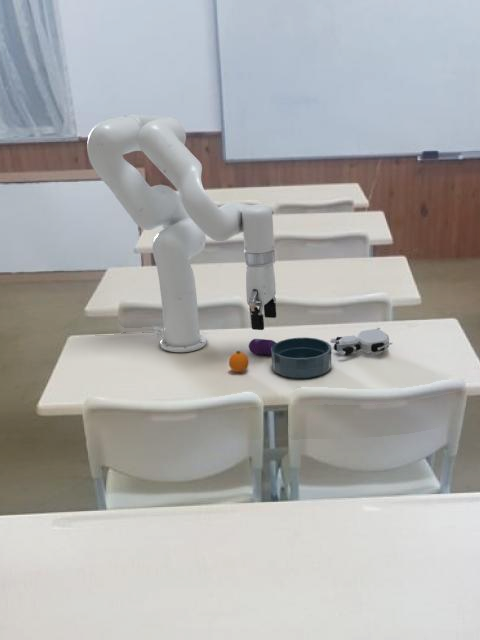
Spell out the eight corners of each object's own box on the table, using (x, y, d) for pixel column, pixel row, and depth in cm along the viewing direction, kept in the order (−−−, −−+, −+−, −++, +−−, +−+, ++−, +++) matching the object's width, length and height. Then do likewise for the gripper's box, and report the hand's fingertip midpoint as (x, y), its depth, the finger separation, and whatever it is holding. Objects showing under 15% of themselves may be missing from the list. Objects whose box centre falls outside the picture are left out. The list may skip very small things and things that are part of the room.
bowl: (264, 376, 215) (263, 355, 212) (283, 355, 227) (282, 335, 224) (321, 382, 210) (321, 361, 207) (337, 360, 222) (337, 340, 219)
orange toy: (226, 374, 217) (225, 353, 214) (233, 366, 221) (232, 346, 218) (244, 375, 215) (243, 355, 212) (251, 368, 219) (250, 348, 216)
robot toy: (339, 365, 221) (395, 356, 223) (338, 349, 219) (394, 340, 220) (329, 349, 232) (382, 340, 233) (328, 333, 229) (381, 324, 230)
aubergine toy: (247, 355, 227) (246, 341, 225) (252, 350, 230) (251, 335, 228) (277, 358, 225) (277, 344, 222) (282, 353, 228) (282, 338, 226)
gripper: (257, 248, 221) (262, 312, 231) (233, 266, 208) (239, 333, 217) (284, 248, 219) (288, 313, 228) (262, 267, 206) (266, 335, 215)
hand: (264, 323), depth 223 cm, fingers open, 9 cm apart
